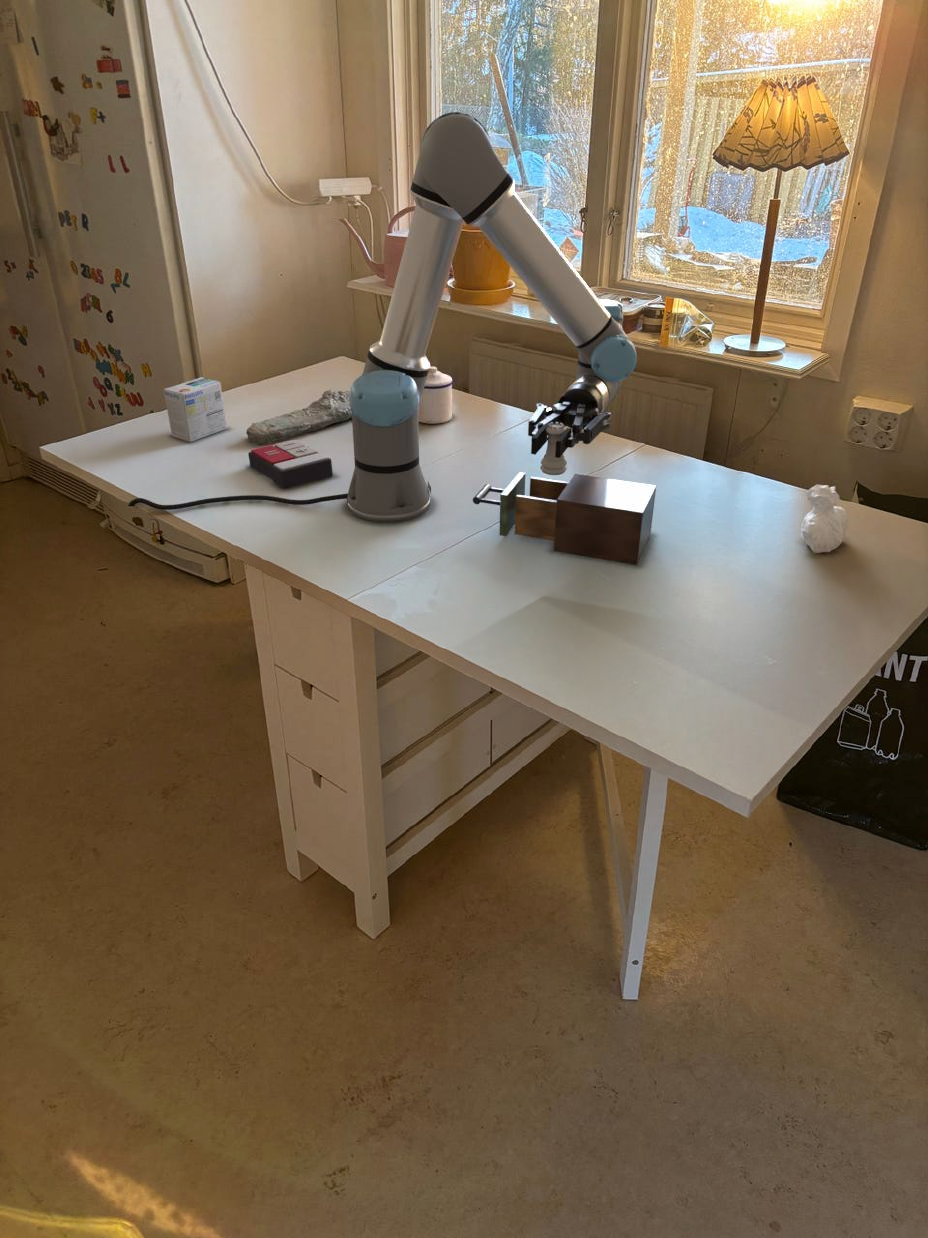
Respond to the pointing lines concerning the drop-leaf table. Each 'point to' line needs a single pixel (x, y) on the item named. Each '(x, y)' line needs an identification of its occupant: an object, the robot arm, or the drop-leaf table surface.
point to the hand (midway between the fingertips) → (545, 447)
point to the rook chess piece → (553, 451)
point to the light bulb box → (195, 409)
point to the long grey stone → (303, 418)
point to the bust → (824, 520)
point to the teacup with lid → (436, 398)
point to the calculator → (290, 463)
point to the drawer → (526, 506)
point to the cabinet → (604, 518)
